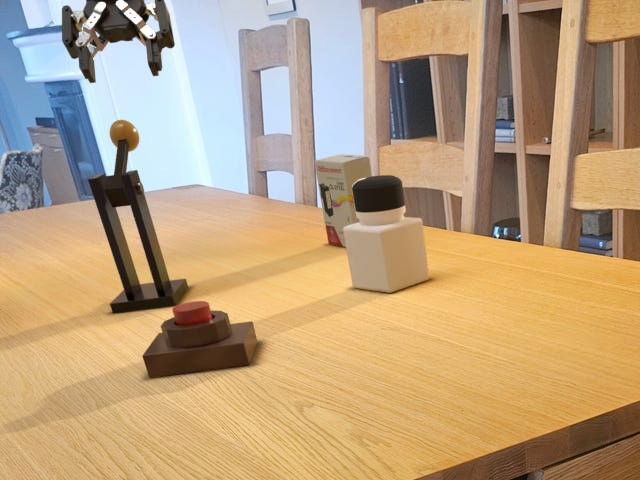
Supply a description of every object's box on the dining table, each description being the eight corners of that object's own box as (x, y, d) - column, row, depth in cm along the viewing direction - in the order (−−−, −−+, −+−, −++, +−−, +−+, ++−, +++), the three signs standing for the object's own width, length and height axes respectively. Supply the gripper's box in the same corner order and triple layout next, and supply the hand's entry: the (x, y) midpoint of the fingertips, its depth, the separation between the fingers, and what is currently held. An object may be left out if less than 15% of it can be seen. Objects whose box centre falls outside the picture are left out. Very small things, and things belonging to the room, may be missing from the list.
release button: (174, 330, 82) (168, 312, 81) (180, 321, 85) (175, 303, 84) (210, 326, 82) (205, 308, 81) (215, 316, 85) (211, 299, 84)
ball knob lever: (117, 143, 111) (105, 115, 108) (144, 140, 111) (133, 112, 108) (108, 213, 104) (96, 185, 100) (137, 209, 104) (125, 181, 101)
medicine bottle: (430, 279, 105) (417, 172, 98) (389, 293, 101) (373, 183, 94) (392, 274, 109) (377, 171, 102) (351, 288, 105) (333, 181, 98)
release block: (149, 377, 82) (135, 337, 80) (164, 353, 89) (152, 315, 87) (249, 365, 83) (238, 324, 80) (257, 342, 89) (248, 303, 87)
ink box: (327, 244, 131) (311, 159, 124) (353, 238, 133) (339, 154, 126) (356, 249, 125) (341, 160, 118) (383, 243, 128) (370, 155, 121)
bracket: (130, 294, 114) (91, 173, 106) (188, 287, 115) (153, 165, 106) (112, 313, 106) (68, 183, 98) (175, 305, 107) (136, 175, 98)
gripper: (47, -49, 110) (55, 56, 108) (154, -61, 111) (164, 44, 108) (73, 3, 118) (81, 103, 115) (174, -8, 118) (184, 91, 116)
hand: (121, 74), depth 112 cm, fingers open, 8 cm apart
